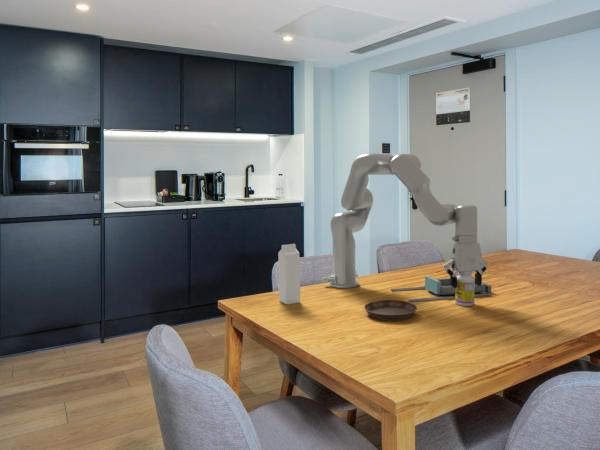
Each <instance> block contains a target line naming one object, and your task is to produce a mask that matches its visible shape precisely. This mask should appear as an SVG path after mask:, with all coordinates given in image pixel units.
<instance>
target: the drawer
mask: <svg viewBox="0 0 600 450" xmlns="http://www.w3.org/2000/svg"><path fill="white" fill-rule="evenodd" d="M483 283H484V282H482V283H481V286H479V285H476V284H475V291H474V294H481V293H485V284H486V283H485V284H483ZM424 286H425V289H424V290H427V291H429V292H432V294H435V295H440V296H441V295H442V296H454V295H455V288H454V287H452V286H451V284H450V277H449V278H435V277H432V276H430V275H426V276H424Z"/></svg>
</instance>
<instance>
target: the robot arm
mask: <svg viewBox="0 0 600 450" xmlns="http://www.w3.org/2000/svg"><path fill="white" fill-rule="evenodd" d="M421 167H422V163H421V160H420V158H419V157H418V156H416V155H415V154H411V153H399V154H397V153H396V154H395V153H372V152H371V153H363V154H360V155H358V156H357V157H356V158H355V159H354V160H353V161H352V164H351V167H350V169H349V170H350V171H349V175H348V178H347V181H346V183H345V186H344V189H343V191H342V194H341V199H340V205H341V207H342V208H343V209H344V210H345V211H340V212H338V213H336V214H334V215H333V216H332V218H331V220H330V229H331V231H330V232H331V236H332V256H333V257H332V261H333V262H332V263H333V264H332V265H333V268H332V271H333V272H332V273H331V275H329V276H322V279H321V280H322V282H327V283H329V286H331V287H333V288H337V289H352V288H353V289H354V288H356V287H359V286H360V282H359V281H358V280H356V240H355V238H354V233H358V232H360V231H362V230H363V229H364V227H366V224H367V221H368V218H369V215H370V212H371V210H372V206H373V203H374V196H373V192H372V191H371V190H370V189H368V185H369V179H370V178H369V176H370V175H371V176H372V175H374V176H375V175H376V176H378V175H379V176H380V175H381V176H382V175H385V176H386V175H391V176H393V175H394V176H395V177H396V178H397V179H398V180H399V181H400V182H401V183H402V185H404V186H405V188H406V189H407V190H408V191H409V192H410V194H411V195H412V198H413V200H414V203H415V205H416V208H417V209H418V210H419V211H420V213H421V214H422V215H423V216H424V218H426V219H427V220H428V221H429V222H430V223H431V224H433V226H436V227H442V226H447V225H452V224H454V225H455V227H454V229H455V230H454V231H455V232H454V233H455V234H454V236H452V238H451V240H452V242H453V241H454V242H453V246H452V249H451V250H452V251H451V258H450V260H449V261H447V262H445V263H444V264H443V268H444V270H445V272H446V274H448V276H449V278H450V284H451V286H452V287H454V288H457V276H458V274H459V272H467V271H472V272H475V274H474V279H475V284H476V285H479V286H481V283H483V280H482V279H483V275H484V273H485V271H486V270H487V267H488V265H489V261H487V260H485V259H483V258H482V256H483V255H482V249H481V244H480V243H479V242H478V208H477V206H476V205H474V204H454V203H443V204H441V203H440V202H439V201H438V199H437V198H436V197H435V196H434V195H433V193H432V192H431V188H430V185H431V178H430V177H429V176H427V174H426V173H425V172H424V171H423V170H421ZM450 268H451V269H450Z"/></svg>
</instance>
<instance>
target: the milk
mask: <svg viewBox="0 0 600 450" xmlns="http://www.w3.org/2000/svg"><path fill="white" fill-rule="evenodd" d="M277 253H278V254H277V256H278V257H277V258H278V261H277V262H278V294H279V295H278V296H279V300H278V301H279V302H281V303H283V304H285V305H291V304H298V303H301V276H300V275H301V273H300V271H301V269H300V267H301V266H300V265H301V263H300V262H301V261H300V260H301V259H300V252H299V250H298V249H297V245H296V243H289V244H282V245H281V248H280V250H279V251H278V252H277Z"/></svg>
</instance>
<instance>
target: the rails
mask: <svg viewBox="0 0 600 450" xmlns="http://www.w3.org/2000/svg"><path fill="white" fill-rule="evenodd" d="M482 283H483V284H485V292H481V293H480V294H478V293H474V298H475V297H476V298H478V297H488V296H489V297H490V296H492V285H489V284H488V283H485V282H482ZM413 290H414V291H415V290H426V289H425V285H424V286H412V287H411V286H410V287H401V288H400V287H399V288H390V291H391V292H398V291H399V292H402V291H403V292H404V291H413ZM451 299H453V300H455V295H448V296H445V295H442V296H433V297H432V296H431V297H418V298H409V299H408V300H407V302H409V303H412V302H415V303H416V302H425V301H437V300H438V301H439V300H440V301H441V300H451Z"/></svg>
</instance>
